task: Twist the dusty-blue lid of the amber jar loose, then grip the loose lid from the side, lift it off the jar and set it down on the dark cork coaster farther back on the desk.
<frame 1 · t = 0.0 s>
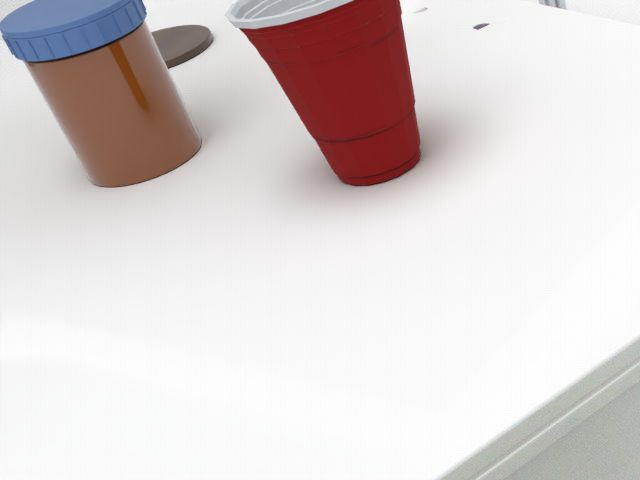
coaster: (158, 53, 97), on the table
lid: (69, 11, 72), point 11 cm above the table, screwed on, not yet turned
jar: (145, 158, 80), on the table
plastic cup: (377, 167, 72), on the table
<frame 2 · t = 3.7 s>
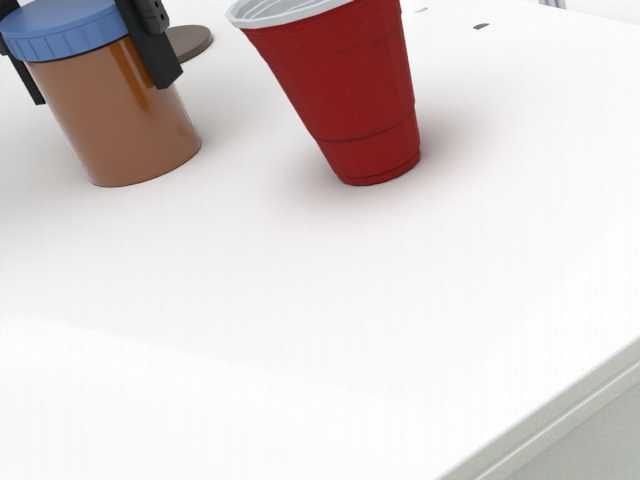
hand: (109, 88, 76), 5 cm above the table, tool pointing down, fingers closed on lid, 9 cm apart
lid: (69, 11, 72), point 11 cm above the table, screwed on, not yet turned, touching gripper
everything else where it was.
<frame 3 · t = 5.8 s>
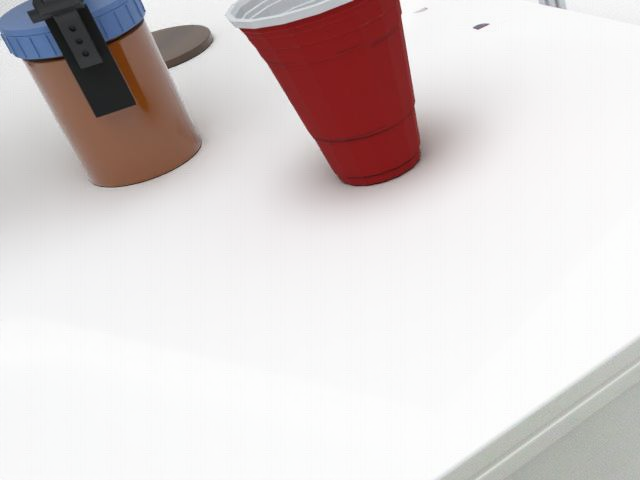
hand: (109, 88, 76), 5 cm above the table, tool pointing down, fingers closed on lid, 9 cm apart
lid: (68, 9, 72), point 11 cm above the table, off its thread, touching gripper
everything else where it was.
when the fingers open (5 cm above the table, at t = 6.5 s): lid stays where it is, resting on jar.
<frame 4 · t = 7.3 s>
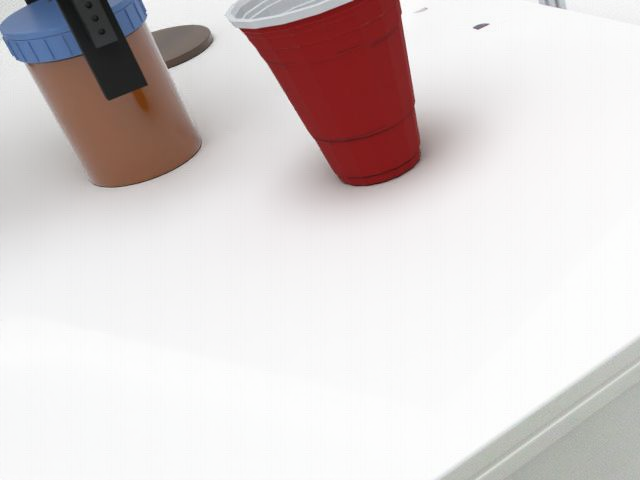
hand: (98, 69, 75), 7 cm above the table, tool pointing down, fingers open, 13 cm apart
lid: (70, 12, 72), point 11 cm above the table, off its thread, touching jar
jar: (145, 158, 80), on the table, touching lid
everything else where it was.
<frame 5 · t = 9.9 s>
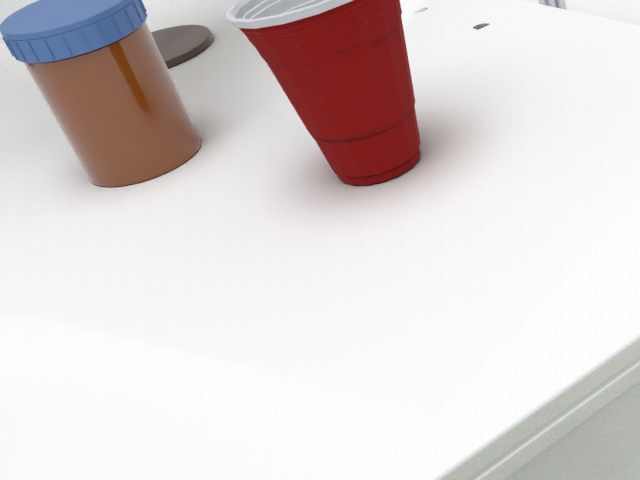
nothing on the table moved.
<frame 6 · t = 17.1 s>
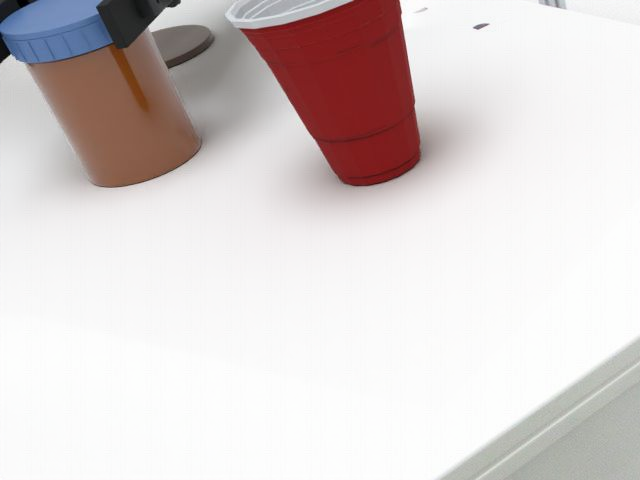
hand: (42, 39, 69), 10 cm above the table, tool horizontal, fingers closed on lid, 9 cm apart
lid: (70, 12, 72), point 11 cm above the table, off its thread, touching gripper, jar
everything else where it was.
when the fingers open (2 cm above the table, at t = 28.0 s): lid stays where it is, resting on coaster.
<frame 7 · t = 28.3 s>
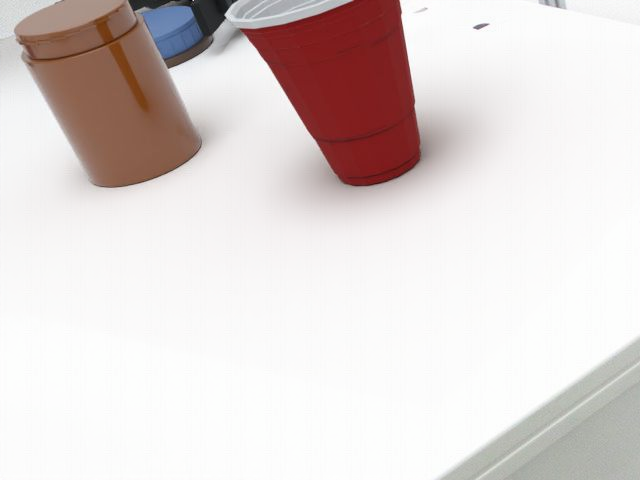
hand: (127, 33, 93), 3 cm above the table, tool horizontal, fingers open, 13 cm apart
lid: (147, 30, 96), point 2 cm above the table, off its thread, touching coaster
jar: (145, 158, 80), on the table
everything else where it was.
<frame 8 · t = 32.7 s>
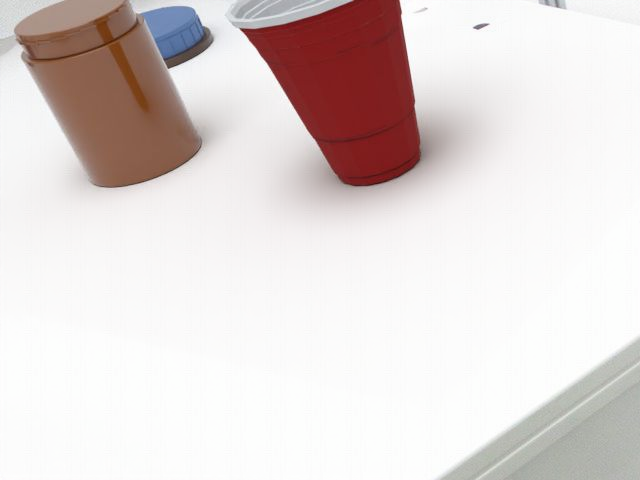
nothing on the table moved.
at the end: lid came off its thread; lid inside the target area on the coaster (0.0 cm from its centre), point 2.1 cm above the coaster's base; the gripper is holding nothing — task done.
